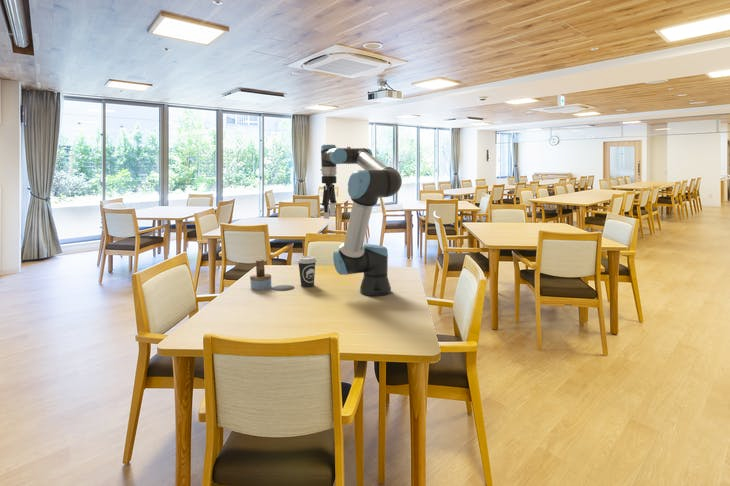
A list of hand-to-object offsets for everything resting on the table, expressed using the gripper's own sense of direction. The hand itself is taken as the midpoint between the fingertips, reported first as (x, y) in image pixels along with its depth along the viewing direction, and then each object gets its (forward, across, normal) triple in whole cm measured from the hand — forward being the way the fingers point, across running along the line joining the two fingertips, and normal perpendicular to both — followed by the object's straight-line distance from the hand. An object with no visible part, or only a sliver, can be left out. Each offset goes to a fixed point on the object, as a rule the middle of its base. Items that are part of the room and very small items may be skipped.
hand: (329, 217), depth 242 cm
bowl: (+35, +16, -32) cm, 50 cm away
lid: (+30, +16, -32) cm, 47 cm away
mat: (+35, +16, -21) cm, 43 cm away
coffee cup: (+35, +9, -10) cm, 37 cm away
